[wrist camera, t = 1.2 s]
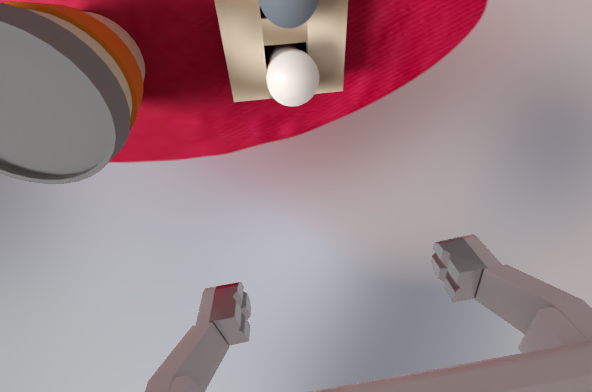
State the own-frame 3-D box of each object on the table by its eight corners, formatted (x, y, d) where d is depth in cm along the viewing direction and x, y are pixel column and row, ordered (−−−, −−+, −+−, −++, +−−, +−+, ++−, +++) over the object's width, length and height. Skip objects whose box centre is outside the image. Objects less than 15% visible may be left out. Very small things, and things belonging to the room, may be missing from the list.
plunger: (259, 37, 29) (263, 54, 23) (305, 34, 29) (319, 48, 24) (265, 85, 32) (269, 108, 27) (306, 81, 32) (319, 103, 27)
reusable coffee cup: (139, -13, 27) (67, 3, 16) (175, 110, 35) (144, 179, 24) (-2, -11, 26) (-191, 8, 15) (69, 117, 34) (-18, 193, 23)
